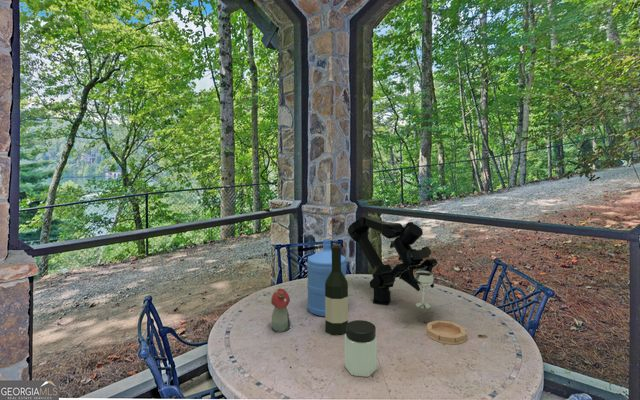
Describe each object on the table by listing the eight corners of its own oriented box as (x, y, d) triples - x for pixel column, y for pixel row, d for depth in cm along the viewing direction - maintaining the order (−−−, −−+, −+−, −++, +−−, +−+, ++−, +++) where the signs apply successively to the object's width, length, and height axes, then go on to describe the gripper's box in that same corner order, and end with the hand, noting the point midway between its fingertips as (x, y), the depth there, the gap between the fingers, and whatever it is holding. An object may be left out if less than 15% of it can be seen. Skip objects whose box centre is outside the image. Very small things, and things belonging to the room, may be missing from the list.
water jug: (301, 313, 127) (300, 242, 125) (316, 299, 141) (316, 235, 139) (339, 320, 121) (339, 245, 119) (351, 304, 135) (351, 237, 133)
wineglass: (434, 310, 114) (435, 276, 112) (413, 308, 115) (414, 275, 114) (431, 302, 120) (432, 270, 119) (412, 300, 122) (413, 269, 120)
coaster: (425, 341, 105) (425, 335, 105) (425, 323, 118) (425, 318, 117) (469, 347, 101) (469, 340, 101) (464, 328, 114) (464, 322, 114)
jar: (357, 356, 97) (357, 316, 96) (381, 366, 92) (381, 324, 91) (339, 369, 90) (339, 327, 89) (364, 381, 85) (364, 337, 84)
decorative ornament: (286, 334, 110) (286, 291, 109) (268, 333, 111) (267, 290, 110) (292, 322, 119) (292, 282, 118) (275, 321, 120) (274, 281, 119)
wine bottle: (351, 326, 115) (351, 243, 113) (343, 337, 108) (343, 248, 106) (330, 322, 119) (329, 241, 117) (320, 332, 111) (320, 246, 109)
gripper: (396, 242, 114) (419, 282, 106) (434, 237, 123) (458, 273, 115) (382, 258, 122) (401, 297, 113) (418, 252, 131) (439, 288, 122)
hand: (426, 288), depth 116 cm, fingers closed on wineglass, 6 cm apart
